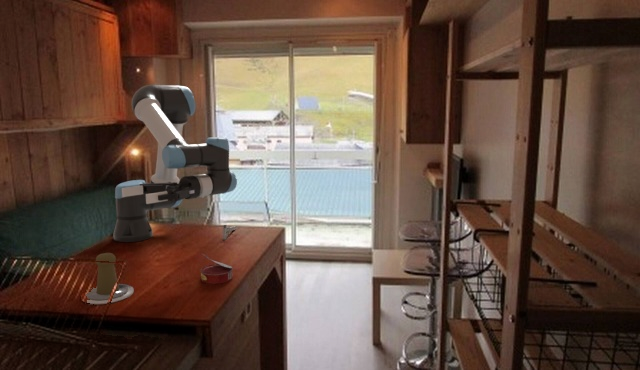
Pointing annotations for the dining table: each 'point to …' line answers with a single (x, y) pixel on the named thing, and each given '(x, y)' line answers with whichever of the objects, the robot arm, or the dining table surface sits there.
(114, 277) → the cork
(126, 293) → the seat plate
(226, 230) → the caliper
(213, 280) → the canned food
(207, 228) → the dining table surface
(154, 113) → the robot arm
